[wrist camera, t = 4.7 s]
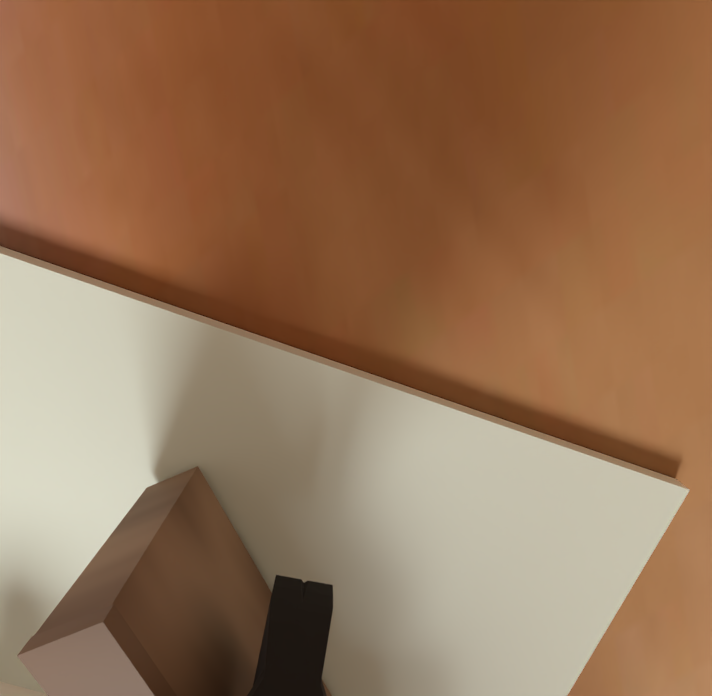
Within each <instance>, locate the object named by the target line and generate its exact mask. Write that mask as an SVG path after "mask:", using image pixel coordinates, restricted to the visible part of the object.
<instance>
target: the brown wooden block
mask: <svg viewBox="0 0 712 696" xmlns="http://www.w3.org/2000/svg"><path fill="white" fill-rule="evenodd" d="M271 594H272V592H271V591H270V589H269V587H268V585H267V584H266V582H265V580H264V579H263V577H262V575H261V573H260V572H259V570H258V568H257V567H256V565H255V563H254V561H253V560H252V558H251V556H250V555H249V553H248V551H247V549H246V548H245V546H244V544H243V542H242V541H241V539H240V537H239V536H238V534H237V532H236V530H235V529H234V527H233V525H232V524H231V522H230V520H229V518H228V517H227V515H226V513H225V512H224V510H223V508H222V506H221V505H220V503H219V501H218V500H217V498H216V496H215V494H214V493H213V491H212V489H211V488H210V486H209V484H208V482H207V481H206V479H205V477H204V476H203V474H202V472H201V470H200V469H199V467H198V466H197V467H195V468H192V469H190V470H187V471H185V472H183V473H180V474H178V475H176V476H173V477H171V478H168V479H166V480H164V481H161V482H159V483H156V484H154V485H152V486H149V487H147V488H146V489H145V490H144V492H143V493H142V494H141V496H140V497H139V498H138V500H137V501H136V502H135V504H134V505H133V506H132V508H131V509H130V510H129V511H128V513H127V514H126V515H125V517H124V518H123V519H122V521H121V522H120V523H119V525H118V526H117V527H116V529H115V530H114V531H113V533H112V534H111V535H110V536H109V538H108V539H107V540H106V542H105V543H104V544H103V546H102V547H101V548H100V550H99V551H98V552H97V554H96V555H95V556H94V557H93V559H92V560H91V561H90V563H89V564H88V565H87V567H86V568H85V569H84V571H83V572H82V573H81V575H80V576H79V577H78V578H77V580H76V581H75V582H74V584H73V585H72V586H71V588H70V589H69V590H68V592H67V593H66V594H65V596H64V597H63V598H62V599H61V601H60V602H59V603H58V605H57V606H56V607H55V609H54V610H53V611H52V613H51V614H50V615H49V617H48V618H47V619H46V620H45V622H44V623H43V624H42V626H41V627H40V628H39V630H38V631H37V632H36V634H35V635H34V636H32V637H31V638H30V639H29V641H28V642H27V643H26V645H25V646H24V647H23V648H22V650H21V651H20V652H19V654H18V655H17V656H18V658H19V659H20V660H21V661H22V663H23V664H24V665H25V667H26V668H27V669H28V671H29V672H30V673H31V674H32V676H33V677H34V678H35V680H36V681H37V682H38V684H39V685H40V686H41V687H42V689H43V690H44V691H45V693H46V694H47V695H48V696H247V695H248V693H249V692H250V690H251V689H252V687H253V683H254V678H255V673H256V668H257V663H258V658H259V653H260V648H261V644H262V639H263V634H264V629H265V624H266V619H267V614H268V609H269V604H270V599H271ZM322 682H323V685H324V688H325V692H326V695H327V696H332V695H331V693H330V692H329V690H328V688H327V687H326V685H325V683H324V681H323V680H322Z"/></svg>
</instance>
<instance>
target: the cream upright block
mask: <svg viewBox="0 0 712 696" xmlns="http://www.w3.org/2000/svg"><path fill="white" fill-rule="evenodd" d="M0 696H48V695H47V694H45V693H41V692H38V691H34V690H30V689H26V688H23V687H19V686H15V685H11V684H8V683H4V682H0Z"/></svg>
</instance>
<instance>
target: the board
mask: <svg viewBox="0 0 712 696" xmlns="http://www.w3.org/2000/svg"><path fill="white" fill-rule="evenodd" d="M197 466H198V467H199V469H200V470H201V472H202V474H203V476H204V477H205V479H206V481H207V482H208V484H209V486H210V488H211V489H212V491H213V493H214V494H215V496H216V498H217V500H218V501H219V503H220V505H221V506H222V508H223V510H224V512H225V513H226V515H227V517H228V518H229V520H230V522H231V524H232V525H233V527H234V529H235V530H236V532H237V534H238V536H239V537H240V539H241V541H242V542H243V544H244V546H245V548H246V549H247V551H248V553H249V555H250V556H251V558H252V560H253V561H254V563H255V565H256V567H257V568H258V570H259V572H260V573H261V575H262V577H263V579H264V580H265V582H266V584H267V585H268V587H269V589H270V591H271V592H272V590H273V586H274V581H275V577H276V575H280V576H286V577H291V578H297V579H302V581H303V582H306V581H314V582H319V583H325V584H330V585H333V612H332V618H331V624H330V631H329V637H328V643H327V649H326V655H325V661H324V667H323V673H322V680H323V681H324V683H325V685H326V687H327V688H328V690H329V692H330V693H331V695H332V696H567V695H568V693H569V692H570V690H571V688H572V687H573V685H574V683H575V682H576V680H577V678H578V677H579V675H580V673H581V672H582V670H583V668H584V667H585V665H586V663H587V662H588V660H589V658H590V657H591V655H592V653H593V652H594V650H595V648H596V647H597V645H598V643H599V641H600V640H601V638H602V636H603V635H604V633H605V631H606V630H607V628H608V626H609V625H610V623H611V621H612V620H613V618H614V616H615V615H616V613H617V611H618V610H619V608H620V606H621V605H622V603H623V601H624V600H625V598H626V596H627V595H628V593H629V591H630V590H631V588H632V586H633V585H634V583H635V581H636V579H637V578H638V576H639V574H640V573H641V571H642V569H643V568H644V566H645V564H646V563H647V561H648V559H649V558H650V556H651V554H652V553H653V551H654V549H655V548H656V546H657V544H658V543H659V541H660V539H661V538H662V536H663V534H664V533H665V531H666V529H667V528H668V526H669V524H670V522H671V521H672V519H673V517H674V516H675V514H676V512H677V511H678V509H679V507H680V506H681V504H682V502H683V501H684V499H685V497H686V496H687V494H688V492H689V491H690V490H689V489H688V488H687V487H686V486H684V485H683V484H682V483H681V482H679V481H678V480H677V479H675V478H672V477H669V476H666V475H663V474H660V473H657V472H654V471H651V470H649V469H646V468H643V467H640V466H637V465H634V464H631V463H628V462H625V461H622V460H619V459H617V458H614V457H611V456H608V455H605V454H602V453H599V452H596V451H593V450H590V449H588V448H585V447H582V446H579V445H576V444H573V443H570V442H567V441H564V440H561V439H559V438H556V437H553V436H550V435H547V434H544V433H541V432H538V431H535V430H532V429H530V428H527V427H524V426H521V425H518V424H515V423H512V422H509V421H506V420H503V419H501V418H498V417H495V416H492V415H489V414H486V413H483V412H480V411H477V410H474V409H472V408H469V407H466V406H463V405H460V404H457V403H454V402H451V401H448V400H445V399H443V398H440V397H437V396H434V395H431V394H428V393H425V392H422V391H419V390H416V389H414V388H411V387H408V386H405V385H402V384H399V383H396V382H393V381H390V380H387V379H385V378H382V377H379V376H376V375H373V374H370V373H367V372H364V371H361V370H358V369H356V368H353V367H350V366H347V365H344V364H341V363H338V362H335V361H332V360H329V359H327V358H324V357H321V356H318V355H315V354H312V353H309V352H306V351H303V350H300V349H297V348H295V347H292V346H289V345H286V344H283V343H280V342H277V341H274V340H271V339H268V338H266V337H263V336H260V335H257V334H254V333H251V332H248V331H245V330H242V329H239V328H237V327H234V326H231V325H228V324H225V323H222V322H219V321H216V320H213V319H210V318H208V317H205V316H202V315H199V314H196V313H193V312H190V311H187V310H184V309H181V308H179V307H176V306H173V305H170V304H167V303H164V302H161V301H158V300H155V299H152V298H150V297H147V296H144V295H141V294H138V293H135V292H132V291H129V290H126V289H123V288H121V287H118V286H115V285H112V284H109V283H106V282H103V281H100V280H97V279H94V278H92V277H89V276H86V275H83V274H80V273H77V272H74V271H71V270H68V269H65V268H63V267H60V266H57V265H54V264H51V263H48V262H45V261H42V260H39V259H36V258H34V257H31V256H28V255H25V254H22V253H19V252H16V251H13V250H10V249H7V248H5V247H2V246H0V682H4V683H8V684H11V685H15V686H19V687H23V688H26V689H30V690H34V691H38V692H41V693H45V691H44V690H43V689H42V687H41V686H40V685H39V684H38V682H37V681H36V680H35V678H34V677H33V676H32V674H31V673H30V672H29V671H28V669H27V668H26V667H25V665H24V664H23V663H22V661H21V660H20V659H19V658H18V656H17V655H18V654H19V652H20V651H21V650H22V648H23V647H24V646H25V645H26V643H27V642H28V641H29V639H30V638H31V637H32V636H34V635H35V634H36V632H37V631H38V630H39V628H40V627H41V626H42V624H43V623H44V622H45V620H46V619H47V618H48V617H49V615H50V614H51V613H52V611H53V610H54V609H55V607H56V606H57V605H58V603H59V602H60V601H61V599H62V598H63V597H64V596H65V594H66V593H67V592H68V590H69V589H70V588H71V586H72V585H73V584H74V582H75V581H76V580H77V578H78V577H79V576H80V575H81V573H82V572H83V571H84V569H85V568H86V567H87V565H88V564H89V563H90V561H91V560H92V559H93V557H94V556H95V555H96V554H97V552H98V551H99V550H100V548H101V547H102V546H103V544H104V543H105V542H106V540H107V539H108V538H109V536H110V535H111V534H112V533H113V531H114V530H115V529H116V527H117V526H118V525H119V523H120V522H121V521H122V519H123V518H124V517H125V515H126V514H127V513H128V511H129V510H130V509H131V508H132V506H133V505H134V504H135V502H136V501H137V500H138V498H139V497H140V496H141V494H142V493H143V492H144V490H145V489H146V488H147V487H149V486H152V485H154V484H156V483H159V482H161V481H164V480H166V479H168V478H171V477H173V476H176V475H178V474H180V473H183V472H185V471H187V470H190V469H192V468H195V467H197ZM45 694H46V693H45Z"/></svg>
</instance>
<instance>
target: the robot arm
mask: <svg viewBox="0 0 712 696" xmlns="http://www.w3.org/2000/svg"><path fill="white" fill-rule="evenodd" d="M332 612H333V585H330V584H325V583H319V582H314V581H306V582H303V581H302V579H297V578H291V577H286V576H280V575H276V577H275V581H274V586H273V590H272V594H271V599H270V604H269V609H268V614H267V619H266V624H265V629H264V634H263V639H262V644H261V648H260V653H259V658H258V663H257V668H256V673H255V678H254V683H253V687H252V689H251V690H250V692H249V693H248V695H247V696H327V695H326V692H325V688H324V685H323V682H322V673H323V667H324V661H325V655H326V649H327V643H328V637H329V631H330V624H331V618H332Z"/></svg>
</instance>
